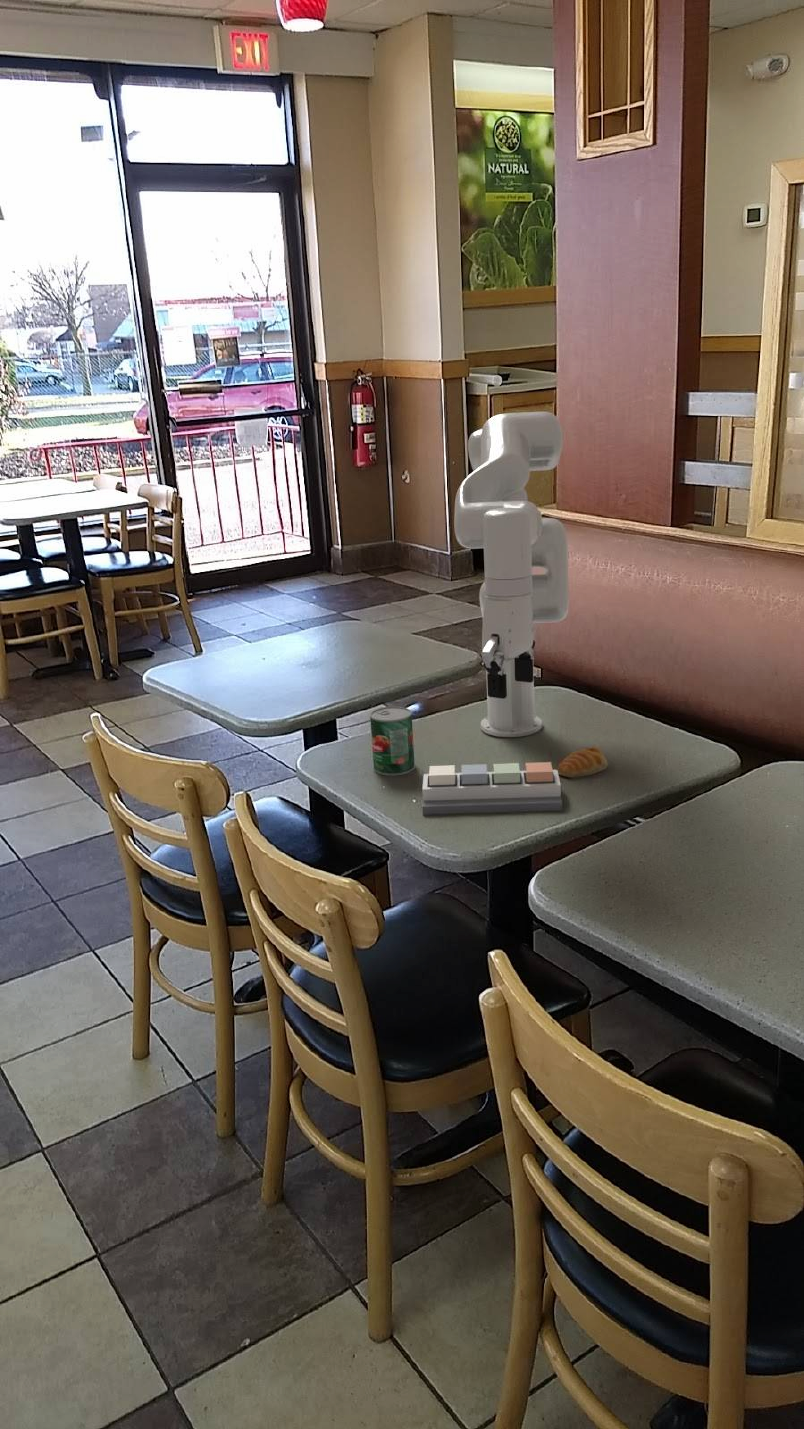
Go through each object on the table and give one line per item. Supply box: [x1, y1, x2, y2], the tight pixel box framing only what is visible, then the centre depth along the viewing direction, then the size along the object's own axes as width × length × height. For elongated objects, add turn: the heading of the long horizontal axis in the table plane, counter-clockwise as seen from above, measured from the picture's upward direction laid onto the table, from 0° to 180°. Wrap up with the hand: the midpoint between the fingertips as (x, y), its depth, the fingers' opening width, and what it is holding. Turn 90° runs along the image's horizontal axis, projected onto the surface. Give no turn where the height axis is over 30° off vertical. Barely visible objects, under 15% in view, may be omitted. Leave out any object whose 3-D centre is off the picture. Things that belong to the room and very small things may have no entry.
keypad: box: [421, 769, 563, 816], centre depth 192 cm, size 12×24×4 cm, turn 87°
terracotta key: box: [525, 761, 554, 782], centre depth 191 cm, size 4×4×2 cm
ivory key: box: [428, 764, 456, 785], centre depth 192 cm, size 4×4×2 cm
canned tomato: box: [369, 706, 416, 776], centre depth 207 cm, size 8×8×11 cm
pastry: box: [557, 746, 608, 779], centre depth 202 cm, size 9×7×4 cm
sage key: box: [493, 762, 521, 783], centre depth 191 cm, size 4×4×2 cm
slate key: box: [461, 763, 488, 784], centre depth 192 cm, size 4×4×2 cm
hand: (511, 689), depth 181 cm, fingers open, 9 cm apart
